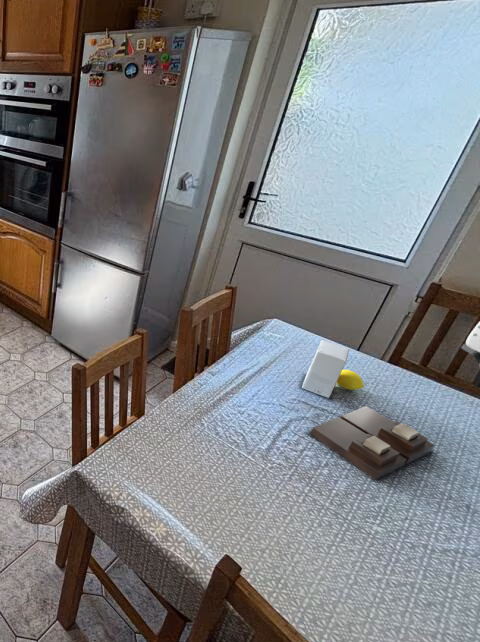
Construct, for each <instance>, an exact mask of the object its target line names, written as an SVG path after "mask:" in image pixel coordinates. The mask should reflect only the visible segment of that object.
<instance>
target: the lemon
mask: <svg viewBox="0 0 480 642" xmlns="http://www.w3.org/2000/svg"><path fill="white" fill-rule="evenodd" d="M336 385H338V386H340V387H341V388H342V389H345V390H349V391H354V390H359V389H363V388H365V384H364V381H363V378H362V377H361V375H359V374H358V373H356V372H355V371H353V370H350V369H342V372H341V374H340V376H339V378H338V380H337V382H336Z"/></svg>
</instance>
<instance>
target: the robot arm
mask: <svg viewBox="0 0 480 642" xmlns="http://www.w3.org/2000/svg"><path fill="white" fill-rule="evenodd" d="M461 350H463V351H464V352H466V353H468V354H470V355H472V356H473V357H474V359H475V360H476V362H477V364H478V368H479V370H478V372H477V373H476V374H475V376H474V378H473V381H476V382H475V383H474V387H475V388H476V389H477V388H479V389H480V321H478V323H477V324H476V325H475V326H474V327H473V329H472V330H471V332H470V333H469V334H468V336H467V338H466V340H465V343H464V344H462V345H461Z"/></svg>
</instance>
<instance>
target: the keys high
mask: <svg viewBox="0 0 480 642" xmlns="http://www.w3.org/2000/svg"><path fill="white" fill-rule="evenodd" d="M309 435H310V436H312V437H313V438H315V439H316V440H317V441H319V442H321V443H322V444H323V445H325V446H326V447H328V448H329V449H331V450H332V451H334V452H335V453H336V454H338V455H339V456H341V457H342V458H344V459H345V460H346V461H348V462H350V463H351V464H352V465H354V466H355V467H357V468H358V469H360V470H361V471H363V472H364V473H365V474H367V475H368V476H369V477H371V478H373V479H374V480H377V479H380V478H381V477H384V476H385V475H387V474H390V473H391V472H393V471H396V470H398V469H399V468H401V467H403V466H404V465H405V464H404V463H405V461H406V460H407V459H406V458H404V457H402V456H401V455H399V454H400V453H399V452H397V451H396V450H394V449H393V448H391V447H390V448H389V450H388V451H387V452H385V453H383V454H381V455H379V454H377V453H376V452H374V451H372V450H371V449H369V448H368V447H366V446H365V445H363V443H364V442H365V440H366V439H368V438H370V437H372V435H370V434H365V433H364V432H362V431H361V430H359V429H357V428H356V427H354V426H353V425H351V424H349V423H348V422H346V421H345V420H343V419H341V416H338V417H335V418H333V419H331V420H328V421H325V422H323V423H321V424H318V425H316V426H313V427H312V429H311V431H310V433H309Z"/></svg>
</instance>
